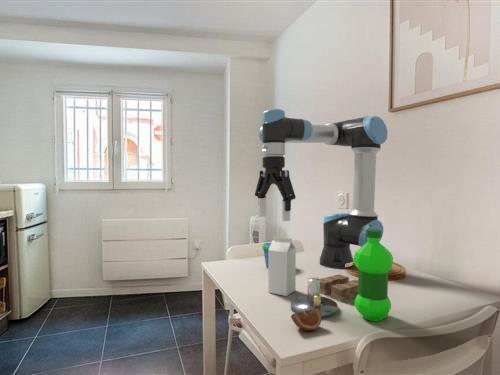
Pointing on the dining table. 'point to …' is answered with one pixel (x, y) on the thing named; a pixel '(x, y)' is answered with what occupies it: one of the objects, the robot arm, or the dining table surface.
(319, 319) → the fruit slice
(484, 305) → the dining table surface
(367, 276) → the plastic bottle
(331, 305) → the post base
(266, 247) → the snack cup
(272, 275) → the milk carton
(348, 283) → the flange block
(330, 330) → the dining table surface
